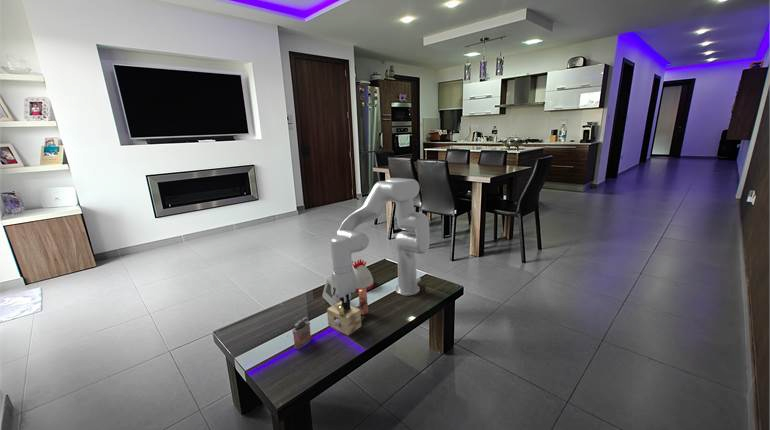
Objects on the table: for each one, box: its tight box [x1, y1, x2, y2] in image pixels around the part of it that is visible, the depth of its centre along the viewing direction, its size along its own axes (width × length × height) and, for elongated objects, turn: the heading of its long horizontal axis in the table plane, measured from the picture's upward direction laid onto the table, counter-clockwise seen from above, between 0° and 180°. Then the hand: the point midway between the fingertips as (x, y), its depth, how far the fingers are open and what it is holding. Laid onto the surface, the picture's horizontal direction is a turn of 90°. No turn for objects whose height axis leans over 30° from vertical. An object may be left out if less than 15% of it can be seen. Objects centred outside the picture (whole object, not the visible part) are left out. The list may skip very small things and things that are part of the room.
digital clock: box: [322, 276, 342, 307], centre depth 156 cm, size 16×9×11 cm, turn 22°
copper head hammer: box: [334, 288, 369, 326], centre depth 139 cm, size 19×4×12 cm, turn 141°
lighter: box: [292, 316, 313, 350], centre depth 126 cm, size 8×3×10 cm, turn 148°
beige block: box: [326, 301, 362, 336], centre depth 136 cm, size 8×12×8 cm, turn 51°
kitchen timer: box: [352, 259, 375, 292], centre depth 172 cm, size 14×14×15 cm
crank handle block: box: [337, 304, 346, 317], centre depth 132 cm, size 5×10×5 cm, turn 2°
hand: (346, 308), depth 130 cm, fingers closed
